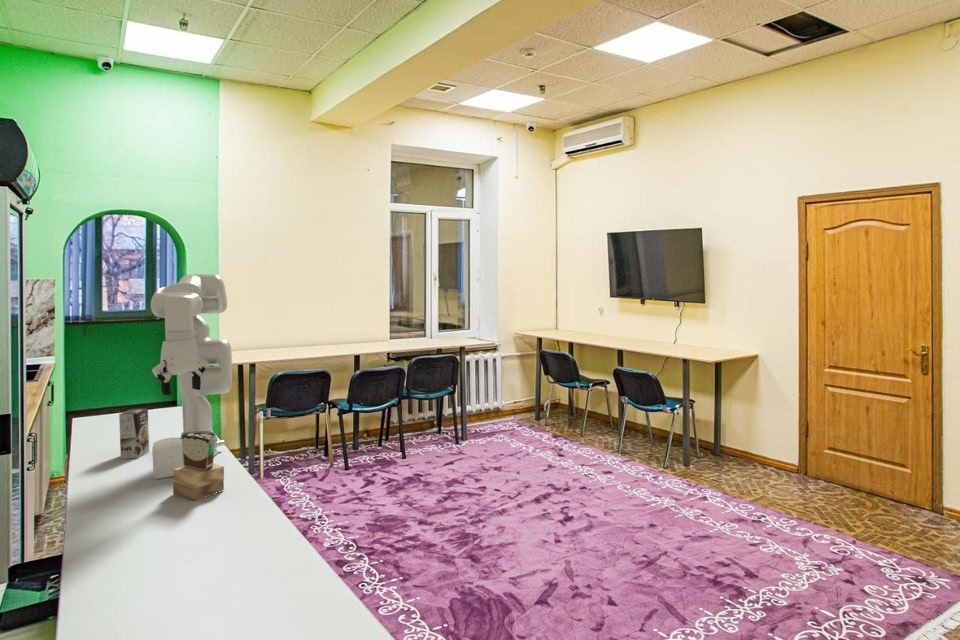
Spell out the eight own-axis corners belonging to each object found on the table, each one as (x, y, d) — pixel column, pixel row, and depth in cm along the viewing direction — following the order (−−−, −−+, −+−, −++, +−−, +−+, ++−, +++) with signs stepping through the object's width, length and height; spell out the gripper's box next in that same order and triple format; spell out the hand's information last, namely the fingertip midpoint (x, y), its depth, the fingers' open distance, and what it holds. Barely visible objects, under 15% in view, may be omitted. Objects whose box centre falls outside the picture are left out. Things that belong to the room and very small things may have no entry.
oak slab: (205, 473, 194) (204, 460, 194) (224, 479, 189) (223, 466, 188) (173, 482, 186) (173, 468, 186) (192, 488, 180) (192, 475, 180)
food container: (226, 466, 189) (227, 433, 189) (210, 471, 183) (210, 437, 183) (196, 460, 194) (197, 428, 194) (179, 465, 188) (180, 432, 188)
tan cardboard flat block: (204, 486, 194) (203, 473, 194) (223, 492, 189) (223, 479, 189) (173, 495, 186) (172, 482, 186) (193, 502, 181) (192, 488, 180)
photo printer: (154, 480, 199) (152, 442, 198) (152, 476, 202) (151, 439, 201) (189, 474, 204) (188, 437, 204) (187, 471, 208) (186, 434, 207)
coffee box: (138, 458, 222) (137, 413, 221) (120, 458, 222) (118, 414, 220) (150, 451, 231) (148, 408, 230) (132, 451, 231) (130, 408, 230)
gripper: (198, 332, 197) (200, 385, 199) (144, 338, 182) (146, 395, 184) (213, 334, 193) (214, 388, 195) (159, 340, 178) (161, 399, 180)
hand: (181, 392), depth 189 cm, fingers open, 9 cm apart
